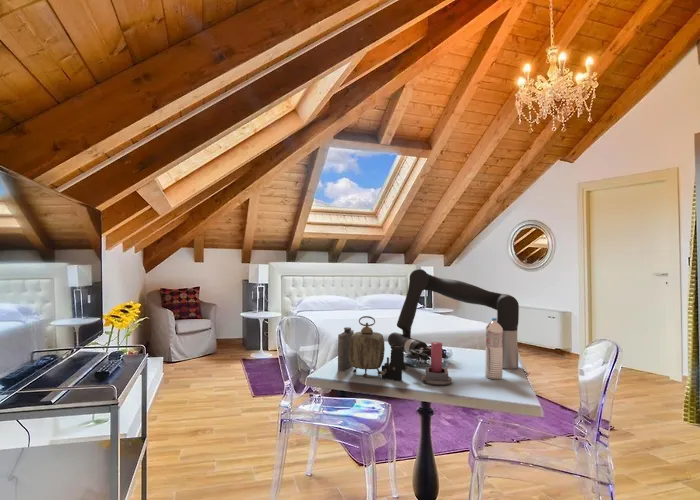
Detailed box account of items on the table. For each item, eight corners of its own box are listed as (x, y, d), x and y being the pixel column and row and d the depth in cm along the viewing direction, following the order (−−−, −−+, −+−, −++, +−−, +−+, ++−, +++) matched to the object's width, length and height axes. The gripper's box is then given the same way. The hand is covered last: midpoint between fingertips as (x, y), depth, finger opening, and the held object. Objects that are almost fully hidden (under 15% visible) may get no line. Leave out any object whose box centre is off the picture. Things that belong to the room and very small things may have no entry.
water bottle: (500, 381, 171) (501, 319, 171) (483, 378, 174) (484, 318, 175) (503, 376, 177) (504, 317, 177) (487, 374, 180) (487, 316, 181)
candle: (441, 376, 171) (441, 342, 171) (442, 379, 166) (442, 344, 167) (430, 375, 171) (431, 341, 172) (430, 379, 167) (431, 343, 167)
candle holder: (450, 378, 174) (450, 367, 174) (453, 387, 162) (453, 375, 162) (421, 376, 176) (421, 365, 176) (421, 385, 164) (421, 373, 164)
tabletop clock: (384, 374, 179) (385, 315, 179) (382, 380, 170) (383, 318, 170) (351, 371, 181) (351, 314, 182) (347, 377, 172) (348, 317, 173)
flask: (355, 364, 194) (356, 325, 195) (344, 372, 181) (345, 330, 181) (348, 363, 196) (348, 324, 196) (336, 371, 182) (337, 329, 182)
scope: (386, 342, 178) (409, 344, 173) (386, 374, 177) (409, 378, 173) (380, 345, 170) (403, 348, 166) (379, 379, 170) (403, 383, 166)
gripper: (401, 340, 182) (420, 348, 167) (430, 339, 187) (451, 346, 172) (401, 358, 182) (420, 367, 167) (430, 355, 187) (451, 364, 172)
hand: (436, 356), depth 169 cm, fingers open, 8 cm apart
